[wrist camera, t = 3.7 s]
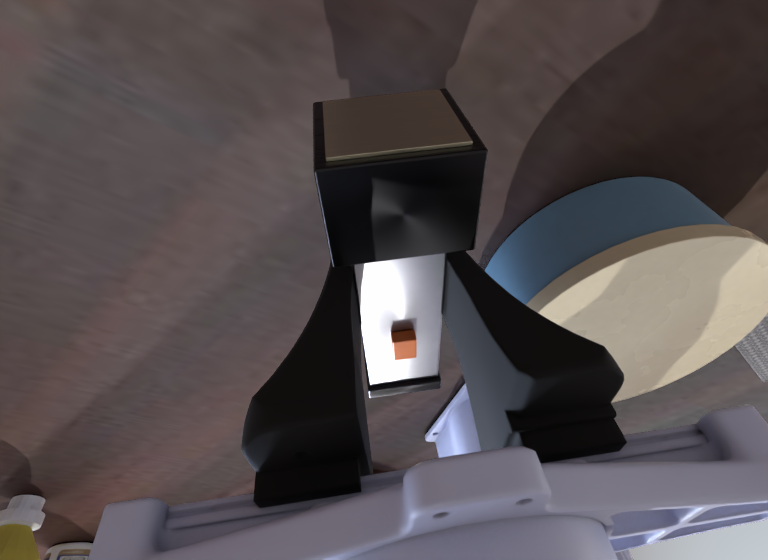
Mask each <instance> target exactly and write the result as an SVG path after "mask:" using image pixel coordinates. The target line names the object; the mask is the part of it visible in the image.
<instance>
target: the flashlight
mask: <svg viewBox="0 0 768 560" xmlns="http://www.w3.org/2000/svg"><path fill="white" fill-rule="evenodd" d="M313 151H314V175H315V180H316V185H317V191H318V196H319V201H320V206H321V211H322V216H323V221H324V226H325V231H326V236H327V241H328V246H329V251H330V256H331V262H332V266H333V267H342V266H350V265H352V270H353V277H354V283H355V290H356V297H357V303H358V310H359V317H360V323H361V330H362V341H363V349H364V358H365V367H366V376H367V384H368V392H369V397H370V398H377V397H384V396H391V395H398V394H405V393H412V392H418V391H425V390H432V389H439V388H440V387H441V378H440V374H439V370H438V367H439V353H440V339H441V326H442V312H443V298H444V284H445V270H446V256H447V253H451V252H459V251H467V250H473V249H475V243H476V235H477V228H478V220H479V213H480V206H481V198H482V191H483V183H484V176H485V168H486V161H487V154H488V150H487V148H486V147H485V145H484V144H483V142H482V141H481V139H480V138H479V136H478V135H477V133H476V132H475V130H474V129H473V127H472V126H471V124H470V123H469V121H468V120H467V119H466V117H465V116H464V114H463V113H462V111H461V110H460V108H459V107H458V105H457V104H456V102H455V101H454V99H453V98H452V96H451V95H450V93H449V92H448V90H447V89H434V90H425V91H415V92H406V93H396V94H387V95H377V96H368V97H358V98H349V99H340V100H330V101H323V102H315V103H313Z"/></svg>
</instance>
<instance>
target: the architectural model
mask: <svg viewBox="0 0 768 560" xmlns="http://www.w3.org/2000/svg"><path fill="white" fill-rule="evenodd" d="M735 346H736V348H737V349H738V350H739V352H740V353H741V354H742V355H743V357H744V358H745V359H746V361H747V362H748V363H749V365H750V366H751V367H752V368H753V370H754V371H755V372H756V374H757V375H758V376H759V377H760V379H761V380H762V381H763V382H765V381H768V313H767V315H766V316H765V317H764V318H763V319H762V321H761V322H760V323H759V324H758V325H757V326H756V327H755V328H754V329H753V330H752V331H751V332H750V333H748V334H747V335H746V336H745V337H744V338H743V339H742V340H740V341H739V342H738V343H737V344H735Z"/></svg>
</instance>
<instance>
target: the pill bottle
mask: <svg viewBox="0 0 768 560" xmlns="http://www.w3.org/2000/svg"><path fill="white" fill-rule="evenodd" d="M92 545H93V543H87V542H72V543H64V544H59V545H55V546H53V547H51V548H50V549H48V550H47V552H46V555H45V557H44V559H43V560H88V557H89V554H90V551H91V548H92Z"/></svg>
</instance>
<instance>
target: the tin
mask: <svg viewBox="0 0 768 560" xmlns="http://www.w3.org/2000/svg"><path fill="white" fill-rule="evenodd" d="M485 272H486V273H487V274H488V275H489V276H490V277H491V278H492V279H494V280H495V281H496V282H497V283H498V284H499V285H500V286H502V287H503V288H504V289H505V290H506V291H508V292H509V293H510V294H511V295H513V296H514V297H515V298H517V299H518V300H519V301H521V302H522V303H523V304H525V305H526V306H528V307H529V308H531V309H532V310H534V311H536V312H537V313H539V314H541V315H542V316H544V317H545V318H547V319H549V320H550V321H552V322H554V323H556V324H558V325H560V326H562V327H563V328H565V329H567V330H569V331H571V332H573V333H575V334H577V335H580V336H582V337H584V338H587V339H589V340H591V341H593V342H596V343H598V344H600V345H603V346H605V348H606V349H607V350H608V352H609V353H610V354H611V355H612V357H613V358H614V360H615V361H616V363H617V364H618V366H619V367H620V369H621V370H622V372H623V374H624V382H623V384H622V387H621V389H620V390H619V392H618V393H617V394H616V396H615V397H614V399H613V400H612V402H611V403H613V402H616V401H620V400H624V399H628V398H631V397H634V396H637V395H641V394H643V393H646V392H649V391H652V390H654V389H657V388H659V387H662V386H664V385H667V384H669V383H671V382H673V381H675V380H678V379H680V378H682V377H684V376H686V375H688V374H690V373H691V372H693V371H695V370H697V369H699V368H701V367H702V366H704V365H706V364H707V363H709V362H711V361H712V360H714V359H715V358H717V357H718V356H720V355H721V354H723V353H724V352H726V351H727V350H729V349H730V348H731V347H733V346H734V345H735V344H737V343H738V342H739V341H740V340H742V339H743V338H744V337H745V336H746V335H747V334H748V333H750V332H751V331H752V330H753V329H754V328H755V327H756V326H757V325H758V324H759V323H760V322H761V321H762V319H763V318H764V317H765V316H766V315H767V313H768V244H767V243H766V242H765V241H763V240H762V239H761V238H760V237H758V236H756V235H755V234H753V233H751V232H750V231H747V230H744V229H741V228H738V227H734V226H731V225H730V224H729V223H727V222H726V221H725V220H724V219H723V218H721V217H720V216H719V215H718V214H716V213H715V212H714V211H713V210H711V209H710V208H709V207H708V206H706V205H705V204H704V203H703V202H702V201H700V200H699V199H698V198H697V197H695V196H694V195H693V194H692V193H690V192H689V191H688V190H687V189H685V188H683V187H682V186H680V185H679V184H677V183H674V182H671V181H668V180H666V179H660V178H654V177H627V178H618V179H614V180H609V181H604V182H600V183H597V184H594V185H591V186H588V187H585V188H582V189H580V190H578V191H575V192H573V193H570V194H568V195H566V196H564V197H562V198H560V199H558V200H557V201H555V202H553V203H551V204H549V205H548V206H546V207H545V208H543V209H542V210H540V211H538V212H537V213H535V214H534V215H533V216H532V217H530V218H529V219H528V220H526V221H525V222H524V223H523V224H521V225H520V226H519V227H518V228H517V229H516V230H515V231H514V232H513V233H512V234H511V235H510V236H509V237H508V238H507V239H506V240H505V241H504V242H503V243H502V245H501V246H500V247H499V248H498V250H497V251H496V253H495V254H494V255H493V257H492V258H491V260H490V262H489V264H488V266H487V268H486V269H485Z"/></svg>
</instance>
